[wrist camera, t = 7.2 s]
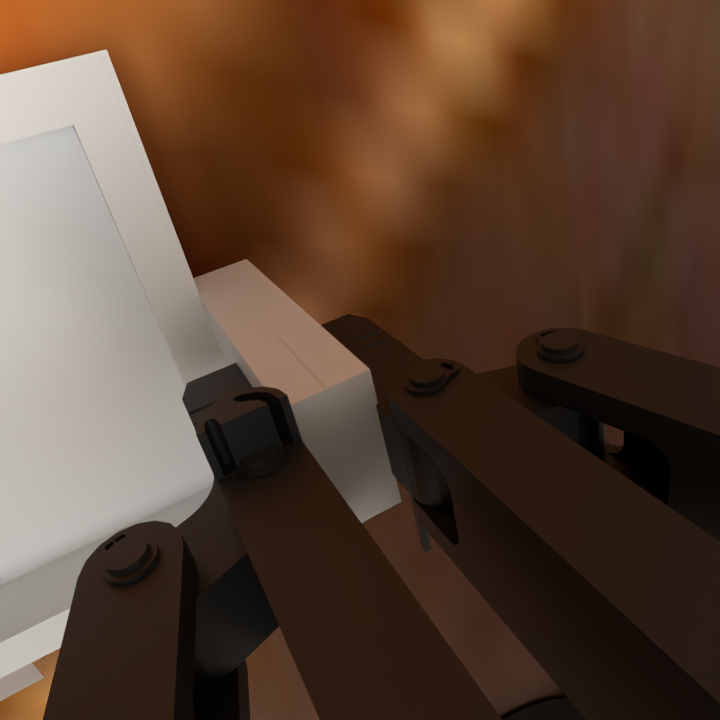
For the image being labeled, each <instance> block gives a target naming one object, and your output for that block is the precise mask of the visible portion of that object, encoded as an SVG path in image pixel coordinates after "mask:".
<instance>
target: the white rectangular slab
mask: <svg viewBox="0 0 720 720" xmlns="http://www.w3.org/2000/svg"><path fill="white" fill-rule="evenodd" d="M198 294H199V292H198V290H197V287H196V284H195V282H194V279H193V276H192V274H191V271H190V268H189V266H188V263H187V261H186V258H185V255H184V253H183V250H182V247H181V245H180V242H179V239H178V237H177V234H176V231H175V229H174V226H173V224H172V221H171V218H170V216H169V213H168V210H167V208H166V205H165V202H164V200H163V197H162V194H161V192H160V189H159V187H158V184H157V181H156V179H155V176H154V173H153V171H152V168H151V165H150V163H149V160H148V157H147V155H146V152H145V150H144V147H143V144H142V142H141V139H140V136H139V134H138V131H137V128H136V126H135V123H134V120H133V118H132V115H131V113H130V110H129V107H128V105H127V102H126V99H125V97H124V94H123V91H122V89H121V86H120V83H119V81H118V78H117V76H116V73H115V70H114V68H113V65H112V62H111V60H110V57H109V54H108V52H107V49H106V50H102V51H98V52H93V53H89V54H85V55H81V56H77V57H72V58H68V59H64V60H60V61H56V62H51V63H47V64H43V65H39V66H34V67H30V68H26V69H22V70H18V71H13V72H9V73H5V74H1V75H0V679H1V678H3V677H4V676H6V675H8V674H10V673H12V672H14V671H16V670H18V669H20V668H22V667H24V666H26V665H28V664H30V663H32V662H34V661H36V660H38V659H40V658H42V657H43V656H45V655H47V654H49V653H51V652H53V651H55V650H57V649H59V648H61V644H62V640H63V636H64V632H65V628H66V624H67V620H68V615H69V611H70V607H71V603H72V599H73V595H74V591H75V587H76V583H77V579H78V576H79V574H80V572H81V570H82V568H83V566H84V563H85V561H86V560H87V559H88V558H89V557H90V555H91V554H92V553H93V552H94V551H95V550H96V549H97V547H98V546H99V545H100V544H102V543H103V542H105V541H106V540H107V539H109V538H110V537H111V536H113V535H114V534H116V533H117V532H119V531H121V530H123V529H126V528H128V527H130V526H132V525H135V524H137V523H143V522H149V521H161V522H167V523H171V524H172V525H173V526H174V527H177V526H178V525H179V524H181V523H182V522H183V521H185V520H186V519H187V518H188V517H190V516H191V515H192V514H193V513H194V512H195V511H196V510H197V509H199V507H200V506H201V505H202V504H203V502H204V501H205V500H206V499H207V497H208V495H209V493H210V491H211V489H212V487H213V481H214V475H213V472H212V470H211V468H210V465H209V463H208V461H207V459H206V456H205V454H204V452H203V450H202V447H201V445H200V443H199V441H198V438H197V436H196V431H195V428H194V426H193V424H192V421H191V419H190V417H189V414H188V412H187V410H186V407H185V405H184V403H183V400H182V397H183V394H184V391H185V388H186V385H187V383H188V382H190V381H193V380H195V379H197V378H200V377H202V376H205V375H207V374H210V373H212V372H214V371H217V370H219V369H222V368H224V367H226V366H225V363H224V361H223V358H222V356H221V353H220V350H219V348H218V345H217V343H216V340H215V337H214V335H213V332H212V329H211V327H210V324H209V322H208V319H207V316H206V314H205V311H204V309H203V306H202V303H201V301H200V298H199V296H198Z"/></svg>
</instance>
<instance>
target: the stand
mask: <svg viewBox="0 0 720 720" xmlns="http://www.w3.org/2000/svg"><path fill="white" fill-rule="evenodd" d="M43 678H44V656H43V657H42V658H40V659H38V660H36V661H34V662H32V663H30V664H28V665H26V666H24V667H22V668H20V669H18V670H16V671H14V672H12V673H10V674H8V675H6V676H4V677H3V678H1V679H0V701H1V700H3V699H5V698H7V697H9V696H11V695H13V694H15V693H16V692H18V691H20V690H22V689H24V688H26V687H28V686H30V685H32V684H33V683H35V682H37V681H39V680H41V679H43Z"/></svg>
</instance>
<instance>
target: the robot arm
mask: <svg viewBox="0 0 720 720" xmlns="http://www.w3.org/2000/svg"><path fill="white" fill-rule="evenodd" d="M193 279H194V282H195V284H196V287H197V290H198V292H199V294H198V296H199V298H200V301H201V303H202V306H203V309H204V311H205V314H206V316H207V319H208V322H209V324H210V327H211V329H212V332H213V335H214V337H215V340H216V343H217V345H218V348H219V350H220V353H221V356H222V358H223V361H224V363H225V366H226V367H224V368H222V369H219V370H217V371H214V372H212V373H210V374H207V375H205V376H202V377H200V378H197V379H195V380H193V381H190V382H188V383H187V385H186V388H185V391H184V394H183V397H182V400H183V403H184V405H185V407H186V410H187V412H188V414H189V417H190V419H191V421H192V424H193V426H194V428H195V431H196V436H197V438H198V441H199V443H200V445H201V447H202V450H203V452H204V454H205V456H206V459H207V461H208V463H209V465H210V468H211V470H212V472H213V475H214V481H213V487H212V489H211V491H210V493H209V495H208V497H207V499H206V500H205V501H204V502H203V504H202V505H201V506H200V507H199V509H197V510H196V511H195V512H194V513H193V514H192V515H191V516H190V517H188V518H187V519H186V520H185V521H183V522H182V523H181V524H179V525H178V526H177V527H174V526H173V525H172V524H171V523H167V522H161V521H149V522H143V523H137V524H135V525H132V526H130V527H128V528H126V529H123V530H121V531H119V532H117V533H116V534H114V535H113V536H111V537H110V538H109V539H107V540H106V541H105V542H103V543H102V544H100V545H99V546H98V547H97V549H96V550H95V551H94V552H93V553H92V554H91V555H90V557H89V558H88V559H87V560H86V561H85V563H84V566H83V568H82V570H81V572H80V574H79V576H78V579H77V583H76V587H75V591H74V595H73V599H72V603H71V607H70V611H69V615H68V620H67V624H66V628H65V632H64V636H63V640H62V644H61V648H60V652H59V656H58V660H57V664H56V668H55V672H54V676H53V680H52V684H51V689H50V693H49V697H48V701H47V705H46V709H45V713H44V717H43V720H250V707H249V689H248V671H247V665H246V661H245V659H246V658H247V657H248V656H249V655H250V654H251V653H252V652H253V651H254V650H255V649H256V648H257V647H258V646H259V645H260V644H261V643H262V642H263V641H264V640H265V639H266V638H267V637H268V636H269V635H270V634H271V633H272V632H273V631H274V630H275V629H276V628H278V627H279V626H280V629H281V631H282V633H283V636H284V638H285V640H286V642H287V645H288V647H289V649H290V652H291V654H292V656H293V659H294V661H295V663H296V666H297V668H298V670H299V672H300V675H301V677H302V679H303V682H304V684H305V686H306V689H307V691H308V693H309V696H310V698H311V700H312V702H313V705H314V707H315V709H316V712H317V714H318V716H319V719H320V720H502V719H501V717H500V716H499V714H498V713H497V712H496V710H495V709H494V708H493V706H492V705H491V703H490V702H489V701H488V699H487V698H486V696H485V695H484V694H483V692H482V691H481V689H480V688H479V687H478V685H477V684H476V682H475V681H474V680H473V678H472V677H471V675H470V674H469V673H468V671H467V670H466V668H465V667H464V666H463V664H462V663H461V661H460V660H459V659H458V657H457V656H456V654H455V653H454V652H453V650H452V649H451V647H450V646H449V645H448V643H447V642H446V641H445V639H444V638H443V636H442V635H441V634H440V632H439V631H438V629H437V628H436V627H435V625H434V624H433V622H432V621H431V620H430V618H429V617H428V615H427V614H426V613H425V611H424V610H423V608H422V607H421V606H420V604H419V603H418V601H417V600H416V599H415V597H414V596H413V594H412V593H411V592H410V590H409V589H408V587H407V586H406V585H405V583H404V582H403V580H402V579H401V578H400V576H399V575H398V574H397V572H396V571H395V569H394V568H393V567H392V565H391V564H390V562H389V561H388V560H387V558H386V557H385V555H384V554H383V553H382V551H381V550H380V548H379V547H378V546H377V544H376V543H375V541H374V540H373V539H372V537H371V536H370V534H369V533H368V532H367V530H366V529H365V527H364V526H363V525H362V523H363V522H364V521H366V520H368V519H370V518H372V517H374V516H376V515H377V514H379V513H381V512H383V511H385V510H387V509H389V508H391V507H393V506H395V505H396V504H398V503H400V502H401V497H400V493H399V489H398V485H397V481H396V478H397V479H398V481H399V482H400V483H401V484H402V485H403V486H404V487H405V489H406V490H407V491H408V492H409V493H410V498H411V502H412V506H413V511H414V515H415V520H416V524H417V528H418V533H419V537H420V542H421V544H422V546H423V548H424V551H425V552H427V551H429V550H431V547H430V542H429V537H428V533H429V534H430V535H431V536H432V537H433V539H434V540H435V541H436V542H437V543H438V544H439V546H440V547H441V548H442V549H443V550H444V552H445V553H446V554H447V555H448V556H449V557H450V559H451V560H452V561H453V562H454V563H455V565H456V566H457V567H458V568H459V569H460V570H461V572H462V573H463V574H464V575H465V576H466V578H467V579H468V580H469V581H470V582H471V584H472V585H473V586H474V587H475V588H476V589H477V591H478V592H479V593H480V594H481V595H482V597H483V598H484V599H485V600H486V601H487V602H488V604H489V605H490V606H491V607H492V608H493V610H494V611H495V612H496V613H497V614H498V615H499V617H500V618H501V619H502V620H503V621H504V623H505V624H506V625H507V626H508V627H509V628H510V630H511V631H512V632H513V633H514V634H515V636H516V637H517V638H518V639H519V640H520V642H521V643H522V644H523V645H524V646H525V647H526V649H527V650H528V651H529V652H530V653H531V655H532V656H533V657H534V658H535V659H536V660H537V662H538V663H539V664H540V665H541V666H542V668H543V669H544V670H545V671H546V672H547V673H548V675H549V676H550V677H551V678H552V679H553V681H554V682H555V683H556V684H557V685H558V686H559V688H560V689H561V690H562V691H563V692H564V694H565V695H566V696H567V697H568V698H559V699H552V700H548V701H544V702H541V703H538V704H535V705H532V706H530V707H527V708H525V709H523V710H520V711H518V712H516V713H514V714H512V715H511V716H509V717H507V718H505V719H503V720H720V368H719V367H715V366H711V365H708V364H704V363H700V362H697V361H693V360H690V359H686V358H682V357H679V356H675V355H671V354H668V353H664V352H661V351H657V350H653V349H650V348H646V347H642V346H639V345H635V344H632V343H628V342H624V341H621V340H617V339H614V338H610V337H606V336H603V335H599V334H595V333H592V332H588V331H585V330H578V329H572V328H551V329H546V330H543V331H540V332H536V333H534V334H532V335H530V336H528V337H526V338H524V339H523V340H522V342H521V343H520V344H519V345H518V346H517V351H516V360H517V365H515V366H510V367H506V368H502V369H498V370H494V371H489V372H484V373H478V374H475V373H474V372H473V371H471V370H470V369H468V368H467V367H465V366H464V365H462V364H460V363H457V362H455V361H453V360H447V359H438V358H436V359H427V360H423V359H422V358H420V357H419V356H418V355H416V354H415V353H414V352H412V351H411V350H410V349H408V348H407V347H406V346H404V345H403V344H401V343H400V342H399V341H397V340H396V339H395V338H392V337H391V335H389V334H388V333H387V332H385V331H384V330H381V328H380V327H379V326H377V325H376V324H375V323H373V322H372V321H371V320H369V319H367V318H363V317H359V316H354V315H350V314H347V315H345V316H342V317H340V318H337V319H335V320H333V321H330V322H328V323H325V324H323V325H320V324H319V323H318V322H317V321H315V320H314V319H313V318H312V317H311V316H310V315H309V314H308V313H306V312H305V311H304V310H303V309H302V308H301V307H300V306H299V305H298V304H296V303H295V302H294V301H293V300H292V299H291V298H290V297H289V296H287V295H286V294H285V293H284V292H283V291H282V290H281V289H280V288H279V287H277V286H276V285H275V284H274V283H273V282H272V281H271V280H270V279H268V278H267V277H266V276H265V275H264V274H263V273H262V272H261V271H260V270H258V269H257V268H256V267H255V266H254V265H253V264H252V263H251V262H249V261H248V260H247V259H245V260H242V261H239V262H236V263H234V264H231V265H228V266H225V267H223V268H220V269H217V270H215V271H212V272H209V273H206V274H204V275H201V276H198V277H195V278H193ZM606 424H607V425H610V426H613V427H615V428H618V429H620V430H623V431H624V445H623V446H619V447H618V446H614V445H611V444H608V443H606Z"/></svg>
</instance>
